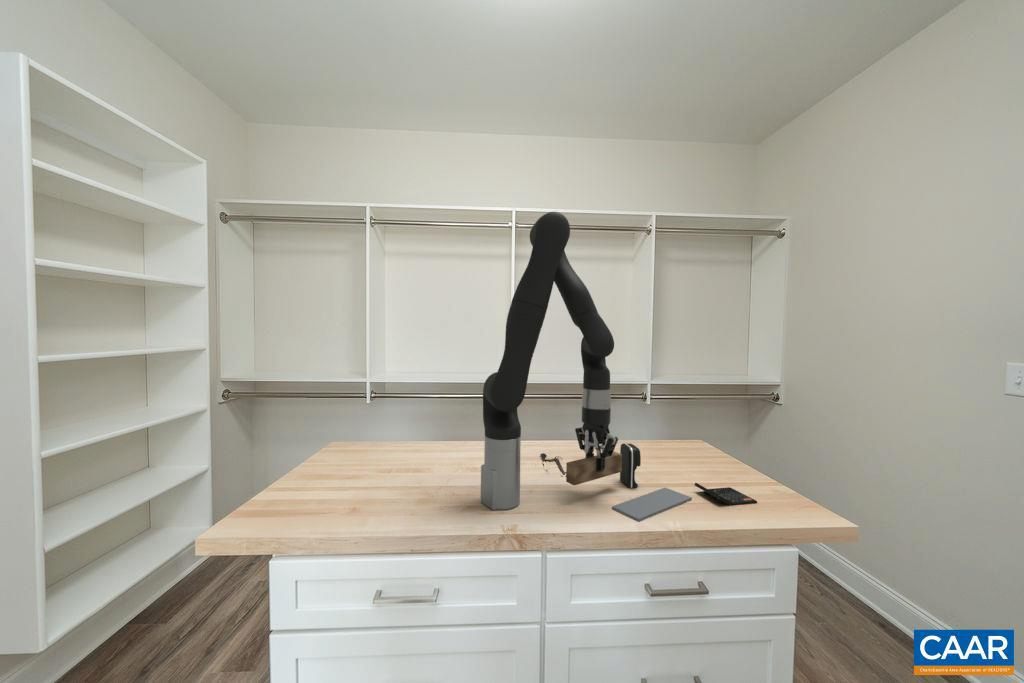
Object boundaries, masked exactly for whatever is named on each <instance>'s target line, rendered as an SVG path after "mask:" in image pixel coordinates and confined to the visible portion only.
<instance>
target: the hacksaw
mask: <svg viewBox="0 0 1024 683" xmlns="http://www.w3.org/2000/svg"><path fill="white" fill-rule="evenodd" d="M540 455H541V457H542V458H541V457H540V458H541V461H549V463H550V462H555V463H556V466H557V465H558V466H557V468H558V467H559V468H558V469H560V470H559V472H560V473H561V472H562V473H561V474H562V476H563V475H565V474H566V471H564V469H563V467H562V464H561V461H560V459H563V457H562V456H560V458H558V457H557V456H555V457H554V458H551V459H546V457H545V456H547V454H546V453H540V454H539V456H540ZM547 457H548V456H547ZM556 457H557V458H556ZM554 460H555V461H554Z"/></svg>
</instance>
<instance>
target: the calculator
mask: <svg viewBox="0 0 1024 683" xmlns="http://www.w3.org/2000/svg"><path fill="white" fill-rule="evenodd" d="M694 486H695V487H697V488H698V489H700V490H702V491H703V492H706V493H707V494H708V495H710V496H712V497H714V498H716V499H717V500H719V501H721V502H723V503H725V504H727V505H729V506H731V507H732V506H733V507H734V506H740V505H741V506H742V505H754V504H758V501H757V500H756V499H753V498H752V497H750V496H748V495H746V494H744V493H742V492H741V491H738V490H736V489H735V488H733V487H729V486H727V487H718V488H707V487H705V486H703V485H701V484H699V483H697V482H695V483H694Z"/></svg>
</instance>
